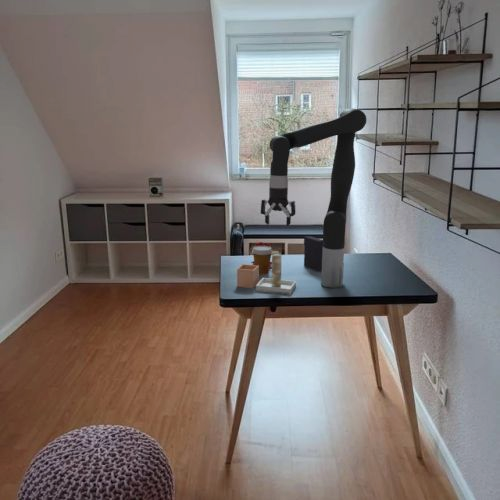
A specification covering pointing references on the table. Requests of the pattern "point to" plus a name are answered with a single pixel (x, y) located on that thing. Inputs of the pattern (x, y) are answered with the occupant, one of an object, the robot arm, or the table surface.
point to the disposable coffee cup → (262, 258)
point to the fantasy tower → (263, 245)
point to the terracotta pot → (247, 276)
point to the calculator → (313, 253)
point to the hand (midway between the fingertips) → (277, 225)
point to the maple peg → (276, 270)
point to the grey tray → (285, 288)
